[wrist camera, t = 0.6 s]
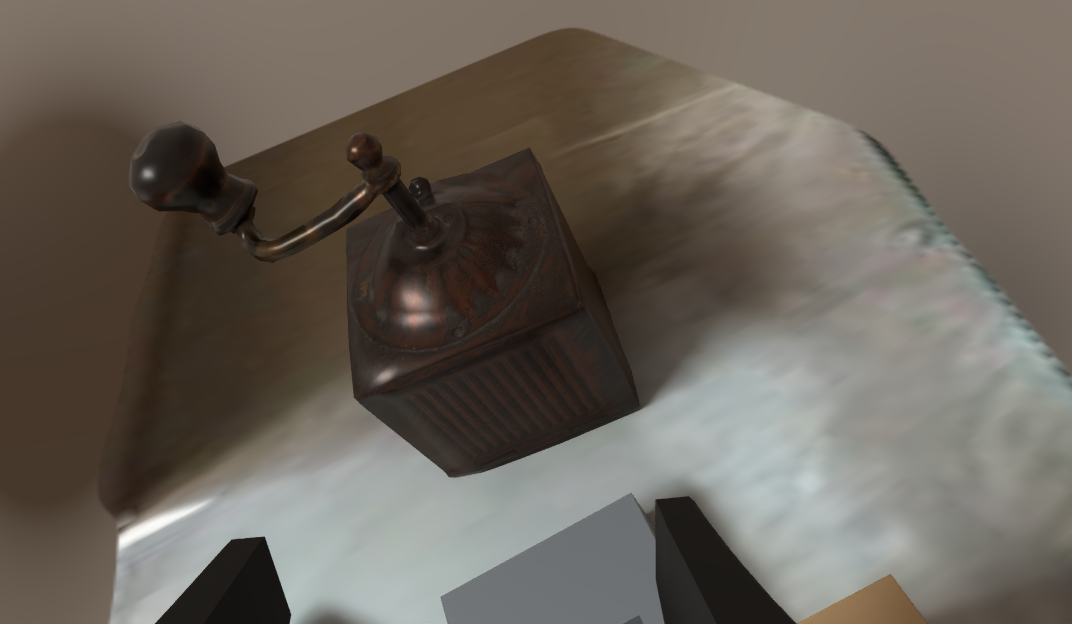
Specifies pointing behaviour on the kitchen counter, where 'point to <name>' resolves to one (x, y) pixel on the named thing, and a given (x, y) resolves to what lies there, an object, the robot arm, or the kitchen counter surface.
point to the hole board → (571, 577)
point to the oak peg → (871, 607)
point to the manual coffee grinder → (438, 297)
